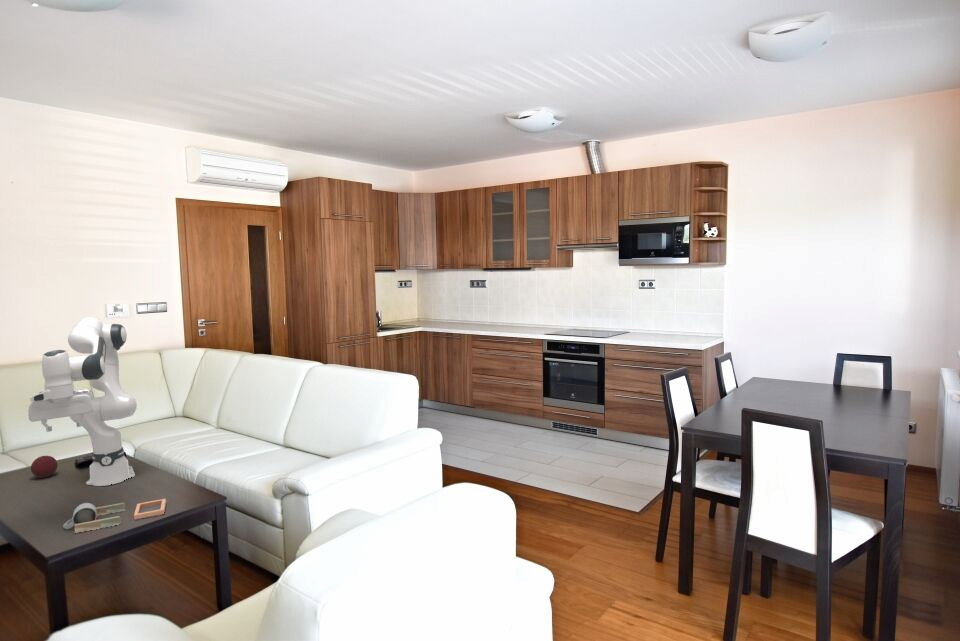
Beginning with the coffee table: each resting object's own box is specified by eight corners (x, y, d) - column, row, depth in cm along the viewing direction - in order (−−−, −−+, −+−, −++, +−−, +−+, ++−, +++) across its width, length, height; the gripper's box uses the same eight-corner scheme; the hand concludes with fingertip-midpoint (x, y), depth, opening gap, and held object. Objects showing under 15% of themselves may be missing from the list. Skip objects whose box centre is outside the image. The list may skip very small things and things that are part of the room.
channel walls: (83, 517, 221) (82, 510, 221) (125, 509, 227) (124, 502, 227) (75, 533, 208) (74, 525, 208) (120, 524, 214) (119, 517, 214)
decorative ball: (29, 482, 260) (26, 461, 259) (35, 475, 269) (33, 454, 268) (55, 478, 264) (53, 457, 263) (61, 471, 273) (58, 451, 272)
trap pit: (137, 508, 228) (137, 503, 228) (166, 503, 232) (165, 498, 232) (134, 520, 217) (133, 515, 217) (164, 514, 221) (163, 509, 221)
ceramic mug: (97, 517, 221) (94, 498, 221) (98, 524, 215) (95, 505, 214) (63, 525, 215) (61, 506, 214) (63, 533, 209) (60, 513, 208)
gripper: (93, 387, 223) (98, 422, 224) (29, 396, 214) (34, 432, 215) (91, 389, 218) (95, 425, 218) (24, 398, 209) (29, 435, 209)
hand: (64, 428), depth 216 cm, fingers open, 8 cm apart
